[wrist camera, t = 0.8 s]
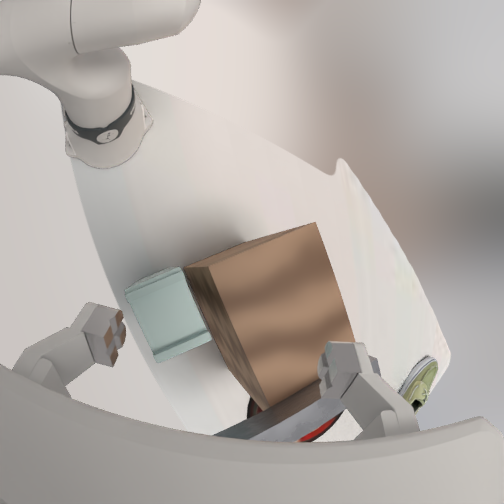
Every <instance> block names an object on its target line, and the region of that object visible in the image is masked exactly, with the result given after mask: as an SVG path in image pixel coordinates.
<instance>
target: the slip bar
mask: <svg viewBox="0 0 504 504" xmlns="http://www.w3.org/2000/svg"><path fill="white" fill-rule="evenodd" d="M368 356H369V355H368ZM369 359H370V363H371V366H372V369H373V372H374V373H377V374H378V375H379V376H380V377H381V374H380V369H379V365H378V361H377V358H374V357H372V356H369ZM321 381H322V380H321V379H320V378H319V379H317V380H316V381H314V382H312V383H311V384H309V385H308V386H306V387H304V388H303V389H301V390H299V391H298V392H296V393H294V394H293V395H291V396H289V397H287V398H286V399H284V400H282V401H280V402H279V403H277V404H275V405H273V406H271V407H269V408H268V409H266V410H264V411H262V412H260V413H258V414H256V415H254V416H252V417H250V418H248V419H246V420H244V421H242V422H240V423H238V424H236V425H234V426H232V427H230V428H228V429H225V430H223V431H221V432H219V433H217V434H214V435H212V436H218V437H226V438H234V439H244V440H256V441H272V442H295V441H297V440H299V439H300V438H302V437H304V436H305V435H307V434H309V433H310V432H312V431H313V430H315V429H317V428H318V427H320V426H321V425H323V424H324V423H326V422H327V421H329V420H330V419H332V418H333V417H335V416H336V415H338V414H339V413H341V412H342V411H343V410H345V409H346V407H345V406H344V404H343V403H342V402H341V400H340V399H327V398H321V394H320V387H319V385H320V383H321Z"/></svg>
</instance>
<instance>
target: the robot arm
mask: <svg viewBox="0 0 504 504" xmlns="http://www.w3.org/2000/svg"><path fill="white" fill-rule="evenodd" d="M200 3H201V0H2V1H0V75H11V76H17V77H21V78H25V79H28V80H31V81H33V82H35V83H38V84H40V85H42V86H44V87H45V88H47V89H49V90H50V91H52V92H53V93H54V94H55V95H56V96H57V97H58V98H59V100H60V102H61V103H62V105H63V115H64V117H66V119H67V121H65V122H64V127H65V128H66V145H65V147H66V148H65V150H66V154H67V155H68V156H70V157H73V158H79V159H80V160H82V161H83V162H84V163H86V164H87V165H89V166H92V167H95V168H101V169H105V168H112V167H115V166H118V165H120V164H122V163H124V162H125V161H127V160H128V159H129V158H131V157H132V156H133V155H134V153H135V152H136V151H137V149H138V148H139V146H140V144H141V141H142V139H143V136H144V134H145V133H146V132H147V131H148V129H149V128H150V127H151V126H152V124H153V120H152V117H151V116H150V114H149V113H148V111H147V109H146V108H145V106H144V104H143V103H142V101H141V99H140V98H139V96H138V94H137V93H136V91H135V89H134V88H133V85H132V83H131V64H130V61H129V59H128V57H127V56H126V54H125V53H124V52H123V51H122V50H121V49H120V48H119V47H123V46H130V45H138V44H142V43H146V42H150V41H154V40H158V39H162V38H166V37H170V36H174V35H178V34H179V33H180V32H181V31H183V30H184V29H185V28H186V27H187V26H188V25H189V23H190V22H191V21H192V20H193V18H194V16H195V15H196V13H197V11H198V9H199V6H200ZM145 117H146V118H145ZM122 319H123V313H122V311H121V310H118V309H114V308H110V307H107V306H103V305H99V304H95V303H91V302H88V303H86V304H85V306H84V307H83V309H82V311H81V312H80V313H79V315H78V316H77V318H76V319H75V321H74V323H73V324H72V326H71V327H70V328H68V327H66V328H64V329H62V330H60V331H59V332H57V333H55V334H53V335H51V336H49V337H47V338H45V339H43V340H41V341H39V342H37V343H35V344H34V345H32V346H30V347H28V348H26V349H25V350H24V351H23V353H22V355H21V356H20V358H19V359H18V361H17V362H16V364H15V365H14V367H13V369H12V370H10V369H8V368H6V367H5V366H3V365H1V364H0V504H504V437H503V435H502V434H501V432H500V431H499V430H498V429H497V428H496V427H495V426H494V425H492V424H491V423H490V422H489V421H488V420H486V419H485V418H484V417H480V416H479V417H474V418H471V419H467V420H464V421H460V422H457V423H453V424H449V425H445V426H441V427H437V428H432V429H428V430H423V431H420V429H419V426H418V422H417V419H416V416H415V413H414V409H413V407H412V406H411V405H410V404H409V403H408V402H407V401H406V400H405V399H404V398H403V397H402V396H401V395H399V394H398V393H397V392H396V391H395V390H394V389H393V388H392V387H391V386H390V385H389V384H388V383H387V382H386V381H385V380H384V379H382V378H381V377H380V376H379V375H378V374H377V373H374V372H373V369H372V366H371V363H370V359H369V356H368V353H367V350H366V347H365V344H364V343H358V342H338V341H328V342H327V343H326V345H325V352H324V353H323V354H321V356H320V358H319V361H318V366H317V372H318V377H319V378H320V379H321V380H322V381H321V383H320V385H319V387H320V394H321V398H327V399H340V400H341V402H342V403H343V404H344V406H345V407H346V408H347V409H348V411H349V412H350V413H351V415H352V416H353V417H354V419H355V420H356V421H357V423H358V424H359V425H360V427H361V428H362V429H363V431H362V432H361V433H360V434H359V435H358V436H357V437H356V438H355V439H354V440H351V441H336V442H272V441H256V440H244V439H234V438H226V437H218V436H211V435H204V434H198V433H192V432H187V431H181V430H176V429H171V428H167V427H162V426H158V425H153V424H150V423H146V422H141V421H138V420H134V419H131V418H127V417H124V416H121V415H117V414H114V413H111V412H107V411H104V410H102V409H98V408H96V407H92V406H90V405H87V404H85V403H82V402H79V401H77V400H74V399H72V398H71V395H70V394H69V392H68V391H67V389H66V387H65V386H66V385H67V384H69V383H70V382H71V381H73V380H74V379H75V378H77V377H78V376H79V375H80V374H82V373H83V372H84V371H85V370H87V369H88V368H90V367H91V366H92V365H93V364H95V363H99V364H102V365H106V366H110V367H113V366H114V364H115V362H116V359H117V357H118V352H117V350H118V349H120V348H121V347H122V346H123V344H124V341H125V337H126V328H125V325H124V324H123V322H122Z"/></svg>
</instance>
